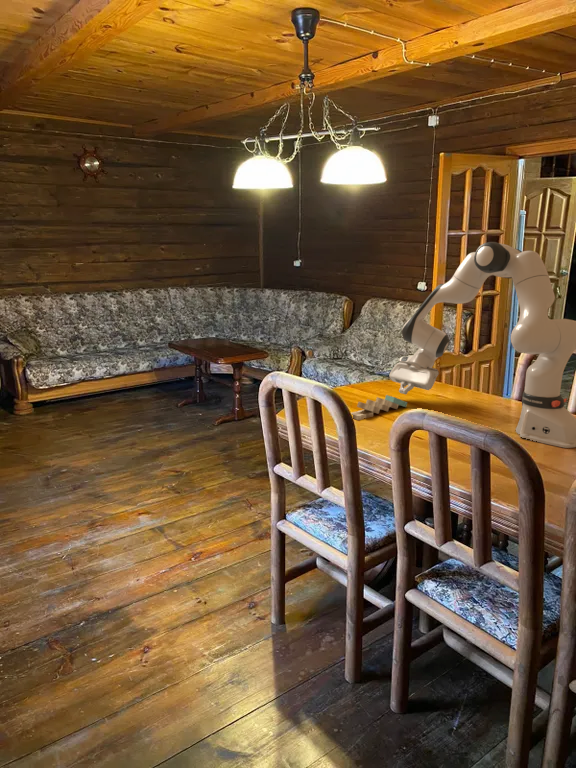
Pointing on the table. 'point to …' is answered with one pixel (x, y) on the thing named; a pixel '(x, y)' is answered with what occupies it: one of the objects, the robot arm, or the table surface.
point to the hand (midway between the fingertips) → (402, 392)
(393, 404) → the domino
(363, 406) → the domino
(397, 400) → the domino
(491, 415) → the table surface
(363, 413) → the domino
